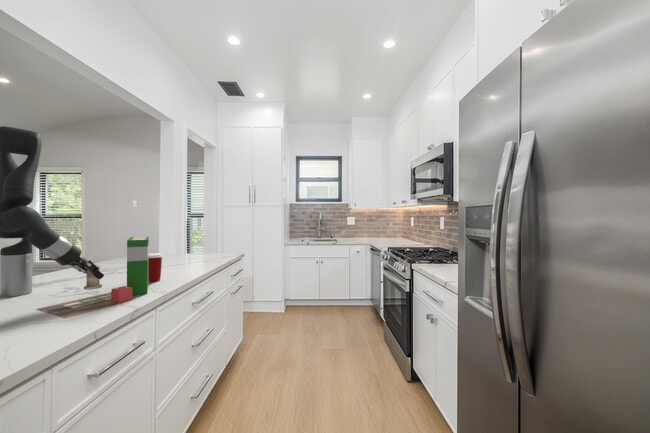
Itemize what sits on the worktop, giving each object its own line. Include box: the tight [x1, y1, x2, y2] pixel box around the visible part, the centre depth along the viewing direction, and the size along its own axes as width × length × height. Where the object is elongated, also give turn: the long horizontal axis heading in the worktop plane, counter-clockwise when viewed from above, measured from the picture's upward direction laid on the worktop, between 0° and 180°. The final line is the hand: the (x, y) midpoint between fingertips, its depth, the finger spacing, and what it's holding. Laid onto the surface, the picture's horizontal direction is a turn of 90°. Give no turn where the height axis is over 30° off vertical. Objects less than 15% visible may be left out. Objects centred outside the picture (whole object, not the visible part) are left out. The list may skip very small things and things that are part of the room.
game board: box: [35, 293, 133, 319], centre depth 108 cm, size 20×22×1 cm
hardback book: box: [126, 236, 150, 297], centre depth 129 cm, size 18×7×24 cm, turn 31°
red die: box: [110, 285, 133, 304], centre depth 113 cm, size 5×5×5 cm
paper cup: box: [148, 252, 164, 283], centre depth 147 cm, size 8×8×14 cm
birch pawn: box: [83, 263, 103, 291], centre depth 112 cm, size 6×6×10 cm
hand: (98, 276), depth 114 cm, fingers closed on birch pawn, 4 cm apart
